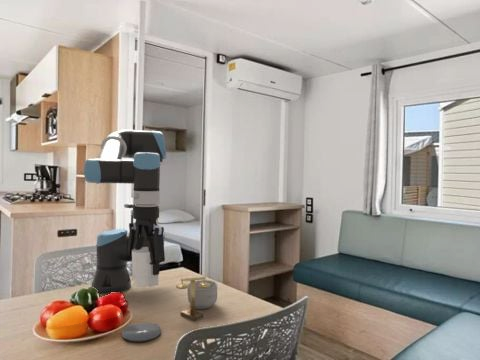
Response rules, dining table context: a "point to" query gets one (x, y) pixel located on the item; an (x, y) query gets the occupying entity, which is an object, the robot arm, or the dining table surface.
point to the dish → (141, 332)
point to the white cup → (141, 266)
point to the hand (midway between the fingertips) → (145, 282)
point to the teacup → (204, 294)
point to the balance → (192, 297)
